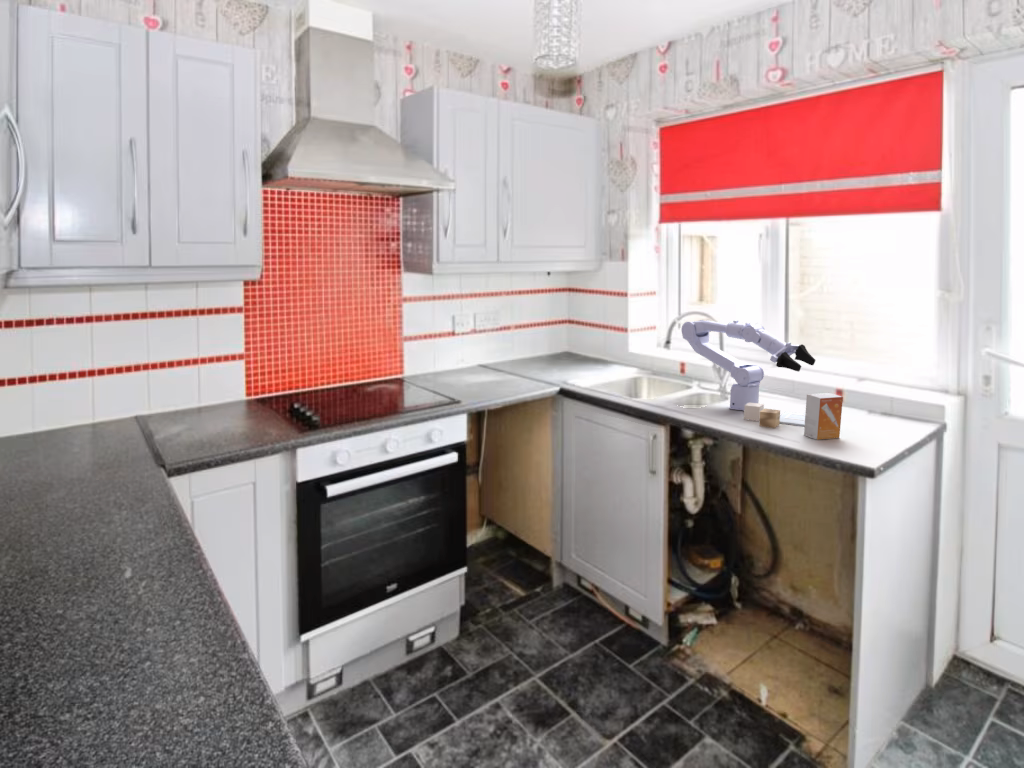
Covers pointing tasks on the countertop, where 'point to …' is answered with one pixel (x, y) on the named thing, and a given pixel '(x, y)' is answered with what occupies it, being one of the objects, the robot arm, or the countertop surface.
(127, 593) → the countertop surface
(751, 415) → the top cube
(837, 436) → the small box
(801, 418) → the board
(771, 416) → the base cube
